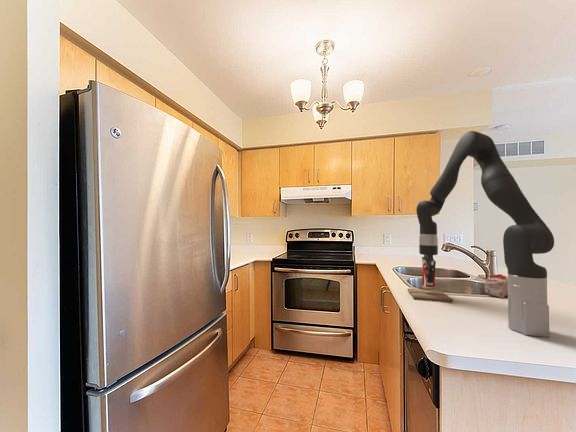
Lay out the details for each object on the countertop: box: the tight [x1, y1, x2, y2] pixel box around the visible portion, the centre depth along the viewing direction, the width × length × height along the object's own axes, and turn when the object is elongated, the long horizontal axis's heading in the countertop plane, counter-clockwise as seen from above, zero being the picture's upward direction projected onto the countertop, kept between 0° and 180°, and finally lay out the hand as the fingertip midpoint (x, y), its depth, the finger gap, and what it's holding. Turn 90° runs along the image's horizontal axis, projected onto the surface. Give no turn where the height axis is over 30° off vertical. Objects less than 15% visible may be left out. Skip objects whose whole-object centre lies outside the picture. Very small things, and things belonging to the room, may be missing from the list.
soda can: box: [421, 261, 436, 290], centre depth 121 cm, size 5×5×12 cm
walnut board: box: [407, 288, 454, 303], centre depth 121 cm, size 15×15×1 cm
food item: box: [484, 273, 508, 299], centre depth 123 cm, size 14×8×10 cm, turn 127°
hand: (428, 280), depth 121 cm, fingers closed on soda can, 5 cm apart
